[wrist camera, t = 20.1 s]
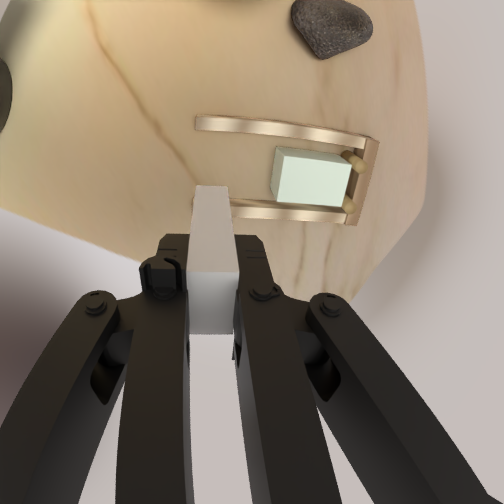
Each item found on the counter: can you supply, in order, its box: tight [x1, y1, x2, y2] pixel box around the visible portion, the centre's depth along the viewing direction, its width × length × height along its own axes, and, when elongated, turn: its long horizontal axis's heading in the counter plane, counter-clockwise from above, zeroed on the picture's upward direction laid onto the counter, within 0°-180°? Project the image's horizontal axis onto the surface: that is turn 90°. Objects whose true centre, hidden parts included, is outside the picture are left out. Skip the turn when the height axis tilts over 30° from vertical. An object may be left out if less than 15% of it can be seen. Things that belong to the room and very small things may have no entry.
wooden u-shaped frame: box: [192, 115, 380, 226], centre depth 36 cm, size 24×13×5 cm, turn 83°
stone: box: [291, 0, 373, 60], centre depth 26 cm, size 10×8×10 cm
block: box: [270, 146, 352, 207], centre depth 37 cm, size 9×6×5 cm, turn 83°
